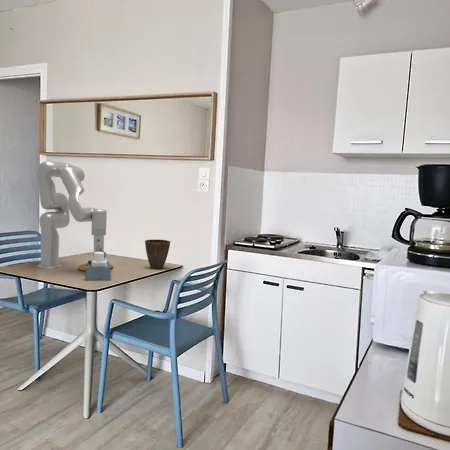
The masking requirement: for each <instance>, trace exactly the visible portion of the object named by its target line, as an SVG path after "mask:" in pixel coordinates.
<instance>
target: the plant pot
mask: <svg viewBox="0 0 450 450" xmlns="http://www.w3.org/2000/svg"><path fill="white" fill-rule="evenodd" d="M144 244H145V246H144V247H145V252H146V257H147V261H148V264H149V267H150V268H151V269H155V270H156V269H157V270H158V269H160V270H161V269H163V268H164V267H165V264H166V261H167V257H168V255H169V250H170V246H171V240H167V239H165V240H164V239H146V240H144Z"/></svg>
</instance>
